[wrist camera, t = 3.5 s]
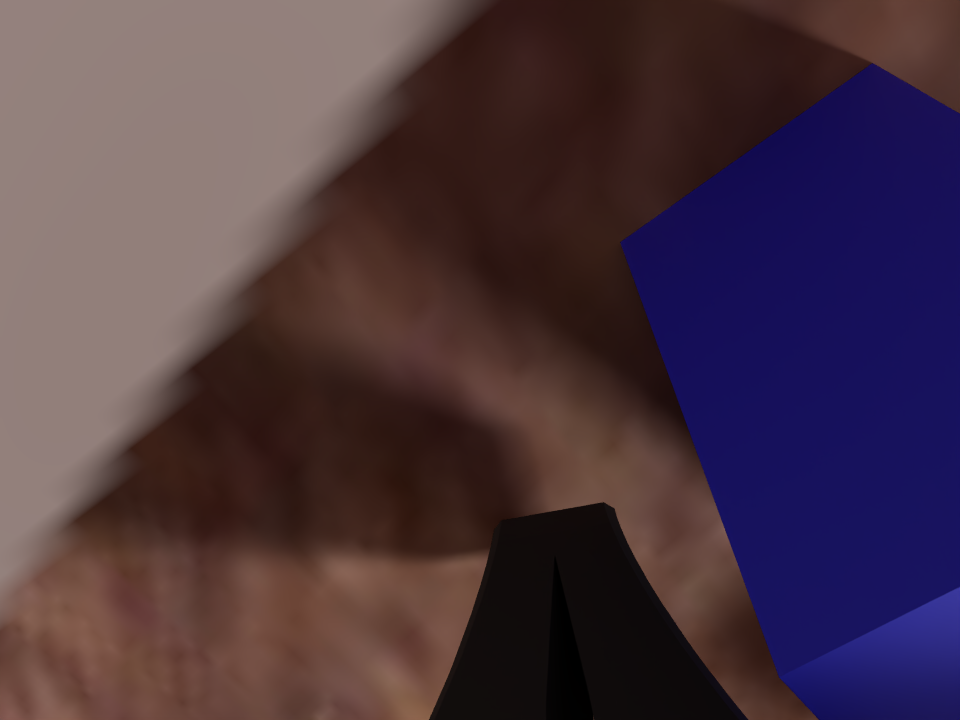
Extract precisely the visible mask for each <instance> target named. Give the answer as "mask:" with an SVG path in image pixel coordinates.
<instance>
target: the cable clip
mask: <svg viewBox="0 0 960 720" xmlns="http://www.w3.org/2000/svg"><path fill="white" fill-rule="evenodd" d="M620 243H621V246H622V249H623V251H624V254H625V257H626V260H627V262H628V265H629V268H630V271H631V273H632V276H633V279H634V281H635V284H636V287H637V290H638V292H639V295H640V298H641V301H642V303H643V306H644V309H645V312H646V314H647V317H648V320H649V323H650V325H651V328H652V331H653V333H654V336H655V339H656V342H657V344H658V347H659V350H660V353H661V355H662V358H663V361H664V364H665V366H666V369H667V372H668V375H669V377H670V380H671V383H672V385H673V388H674V391H675V394H676V396H677V399H678V402H679V405H680V407H681V410H682V413H683V416H684V418H685V421H686V424H687V426H688V429H689V432H690V435H691V437H692V440H693V443H694V446H695V448H696V451H697V454H698V457H699V459H700V462H701V465H702V468H703V470H704V473H705V476H706V478H707V481H708V484H709V487H710V489H711V492H712V495H713V498H714V500H715V503H716V506H717V509H718V511H719V514H720V517H721V520H722V522H723V525H724V528H725V530H726V533H727V536H728V539H729V541H730V544H731V547H732V550H733V552H734V555H735V558H736V561H737V563H738V566H739V569H740V572H741V574H742V577H743V580H744V582H745V585H746V588H747V591H748V593H749V596H750V599H751V602H752V604H753V607H754V610H755V613H756V615H757V618H758V621H759V623H760V626H761V629H762V632H763V634H764V637H765V640H766V643H767V645H768V648H769V651H770V654H771V656H772V659H773V662H774V665H775V667H776V670H777V673H778V675H779V678H780V679H781V680H782V681H783V682H784V683H785V684H786V685H787V686H788V687H789V688H790V689H791V690H792V691H793V692H794V694H795V695H796V696H797V697H798V698H799V699H800V700H801V701H802V702H803V703H804V704H805V705H806V706H807V707H808V708H809V709H810V711H811V712H812V713H813V714H814V715H815V716H816V717H817V718H818V719H819V720H960V114H959V113H957V112H956V111H954V110H952V109H951V108H949V107H947V106H945V105H944V104H942V103H940V102H939V101H937V100H935V99H933V98H932V97H930V96H928V95H927V94H925V93H923V92H921V91H920V90H918V89H916V88H915V87H913V86H911V85H909V84H908V83H906V82H904V81H903V80H901V79H899V78H897V77H896V76H894V75H892V74H891V73H889V72H887V71H885V70H884V69H882V68H880V67H879V66H877V65H875V64H873V63H872V64H871V65H869V66H868V67H867V68H865V69H864V70H862V71H861V72H860V73H858V74H857V75H855V76H854V77H852V78H851V79H850V80H848V81H847V82H845V83H844V84H843V85H841V86H840V87H838V88H837V89H836V90H834V91H833V92H831V93H830V94H829V95H827V96H826V97H824V98H823V99H821V100H820V101H819V102H817V103H816V104H814V105H813V106H812V107H810V108H809V109H807V110H806V111H805V112H803V113H802V114H800V115H799V116H798V117H796V118H795V119H793V120H792V121H790V122H789V123H788V124H786V125H785V126H783V127H782V128H781V129H779V130H778V131H776V132H775V133H774V134H772V135H771V136H769V137H768V138H767V139H765V140H764V141H762V142H761V143H759V144H758V145H757V146H755V147H754V148H752V149H751V150H750V151H748V152H747V153H745V154H744V155H743V156H741V157H740V158H738V159H737V160H736V161H734V162H733V163H731V164H730V165H729V166H727V167H726V168H724V169H723V170H721V171H720V172H719V173H717V174H716V175H714V176H713V177H712V178H710V179H709V180H707V181H706V182H705V183H703V184H702V185H700V186H699V187H698V188H696V189H695V190H693V191H692V192H690V193H689V194H688V195H686V196H685V197H683V198H682V199H681V200H679V201H678V202H676V203H675V204H674V205H672V206H671V207H669V208H668V209H667V210H665V211H664V212H662V213H661V214H659V215H658V216H657V217H655V218H654V219H652V220H651V221H650V222H648V223H647V224H645V225H644V226H643V227H641V228H640V229H638V230H637V231H636V232H634V233H633V234H631V235H630V236H628V237H627V238H626V239H624V240H623V241H621V242H620Z"/></svg>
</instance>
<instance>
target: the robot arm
mask: <svg viewBox="0 0 960 720" xmlns="http://www.w3.org/2000/svg"><path fill="white" fill-rule="evenodd" d="M593 716H594V718H593ZM429 720H748V719H747V718H746V716H745V715H744V714H743V713H742V712H741V710H740V709H739V708H738V707H737V705H736V704H735V703H734V702H733V701H732V699H731V698H730V697H729V696H728V694H727V693H726V692H725V690H724V689H723V688H722V686H721V685H720V684H719V683H718V681H717V680H716V679H715V677H714V676H713V675H712V674H711V672H710V671H709V670H708V668H707V667H706V666H705V664H704V663H703V662H702V660H701V659H700V658H699V656H698V655H697V654H696V652H695V651H694V649H693V648H692V647H691V645H690V644H689V643H688V641H687V640H686V638H685V637H684V635H683V634H682V632H681V631H680V629H679V628H678V626H677V625H676V623H675V622H674V620H673V619H672V617H671V616H670V614H669V613H668V611H667V610H666V608H665V607H664V606H663V604H662V603H661V601H660V599H659V598H658V596H657V595H656V593H655V591H654V590H653V588H652V587H651V585H650V583H649V582H648V580H647V578H646V576H645V575H644V573H643V571H642V569H641V567H640V566H639V564H638V562H637V560H636V559H635V557H634V555H633V553H632V551H631V549H630V547H629V545H628V543H627V541H626V539H625V536H624V534H623V532H622V529H621V527H620V524H619V522H618V519H617V516H616V512H615V509H614V508H613V507H611V506H609V505H607V504H606V503H604V502H603V503H597V504H591V505H586V506H580V507H574V508H569V509H563V510H557V511H552V512H546V513H540V514H535V515H529V516H524V517H518V518H512V519H507V520H501V522H500V523H499V524H498V525H497V527H496V528H495V529H494V533H493V538H492V543H491V548H490V552H489V556H488V560H487V564H486V568H485V571H484V575H483V578H482V582H481V585H480V588H479V592H478V595H477V598H476V601H475V604H474V607H473V610H472V613H471V616H470V619H469V622H468V624H467V627H466V630H465V633H464V635H463V638H462V641H461V644H460V646H459V649H458V652H457V654H456V657H455V660H454V663H453V665H452V668H451V670H450V673H449V675H448V678H447V680H446V682H445V685H444V687H443V689H442V691H441V694H440V696H439V698H438V701H437V703H436V705H435V707H434V710H433V712H432V714H431V717H430V719H429Z"/></svg>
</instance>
